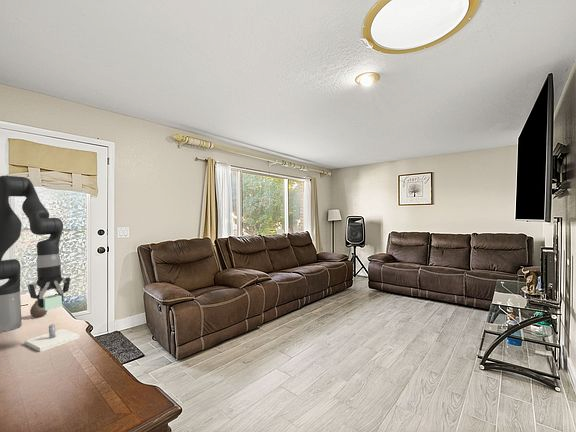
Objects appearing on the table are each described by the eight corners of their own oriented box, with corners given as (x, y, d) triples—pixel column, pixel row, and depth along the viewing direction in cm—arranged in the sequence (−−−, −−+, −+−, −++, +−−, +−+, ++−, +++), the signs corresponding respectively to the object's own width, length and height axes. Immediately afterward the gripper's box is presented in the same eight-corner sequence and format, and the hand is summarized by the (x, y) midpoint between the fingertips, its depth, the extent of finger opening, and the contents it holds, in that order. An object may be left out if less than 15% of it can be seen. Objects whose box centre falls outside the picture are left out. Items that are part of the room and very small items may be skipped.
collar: (39, 308, 115) (39, 298, 115) (56, 304, 120) (56, 294, 120) (45, 310, 112) (44, 299, 112) (62, 306, 117) (61, 295, 117)
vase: (37, 319, 146) (36, 302, 146) (27, 318, 147) (26, 302, 147) (50, 314, 153) (50, 298, 153) (40, 314, 154) (40, 298, 154)
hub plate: (25, 344, 114) (24, 327, 114) (63, 332, 125) (62, 316, 125) (40, 351, 106) (39, 333, 106) (79, 338, 117) (78, 321, 117)
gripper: (65, 262, 124) (67, 299, 124) (22, 267, 112) (24, 309, 112) (73, 262, 120) (75, 301, 120) (29, 268, 108) (31, 312, 108)
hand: (50, 305), depth 116 cm, fingers closed on collar, 5 cm apart
